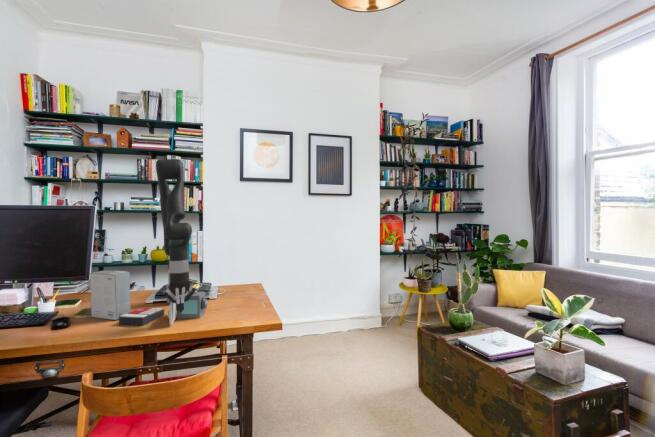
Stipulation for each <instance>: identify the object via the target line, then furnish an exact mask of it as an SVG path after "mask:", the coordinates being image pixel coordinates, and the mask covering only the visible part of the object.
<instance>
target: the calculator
mask: <svg viewBox="0 0 655 437" xmlns="http://www.w3.org/2000/svg"><path fill="white" fill-rule="evenodd" d="M163 316H165V309H164V308H162V307H145V306H144V307H140V308H138V309H136V310H135V309H134V310H132V311H131V312H129V313H128V314H125V315H122V316H120V317H119V319H118V326H125V327H129V326H130V327H144V326H146V325H149V323H151V322H153V321H155V320H157V319H159V318H161V317H163Z"/></svg>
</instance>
